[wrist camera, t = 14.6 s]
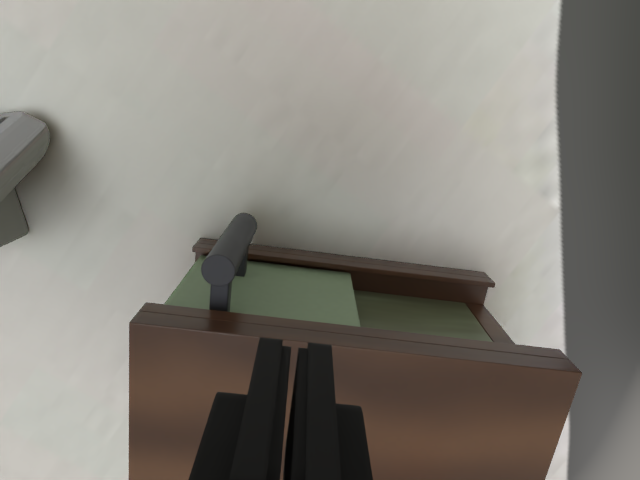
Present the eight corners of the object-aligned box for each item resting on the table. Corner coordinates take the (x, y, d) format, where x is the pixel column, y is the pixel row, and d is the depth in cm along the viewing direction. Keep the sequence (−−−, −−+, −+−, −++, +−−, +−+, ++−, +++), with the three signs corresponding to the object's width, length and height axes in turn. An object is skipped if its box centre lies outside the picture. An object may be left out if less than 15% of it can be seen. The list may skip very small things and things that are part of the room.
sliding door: (203, 202, 26) (152, 248, 18) (358, 221, 26) (377, 275, 18) (199, 267, 27) (150, 338, 19) (348, 284, 27) (361, 361, 19)
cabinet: (200, 237, 28) (128, 322, 17) (485, 272, 28) (583, 373, 18) (191, 398, 31) (128, 551, 21) (445, 425, 32) (508, 584, 21)
